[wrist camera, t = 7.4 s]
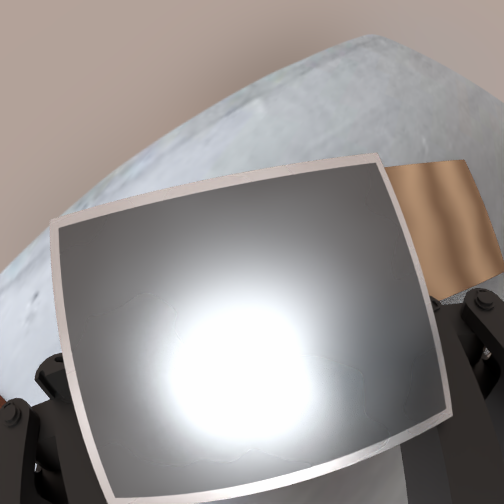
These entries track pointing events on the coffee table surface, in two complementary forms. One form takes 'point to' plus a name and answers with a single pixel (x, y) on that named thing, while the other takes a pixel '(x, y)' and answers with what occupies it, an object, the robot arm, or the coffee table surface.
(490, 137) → the coffee table surface
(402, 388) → the block
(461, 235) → the board
